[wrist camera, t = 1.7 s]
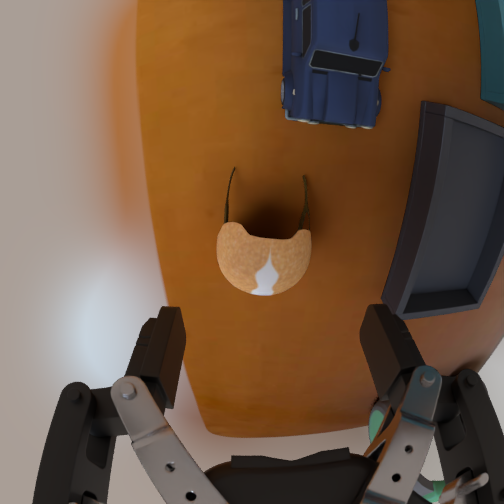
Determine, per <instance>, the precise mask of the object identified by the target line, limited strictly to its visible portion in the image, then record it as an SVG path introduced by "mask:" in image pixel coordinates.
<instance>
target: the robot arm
mask: <svg viewBox="0 0 504 504" xmlns="http://www.w3.org/2000/svg"><path fill="white" fill-rule="evenodd" d="M408 331H409V330H408V328H407V326H406V324H405V323H404V321H403V320H402V319H401V318H400V317H399V316H397V315H396V314H392V313H391V311H390V309H389V307H388V306H387V304H371V305H369V306H368V308H367V311H366V314H365V317H364V320H363V323H362V325H361V328H360V342H361V345H362V348H363V351H364V354H365V357H366V360H367V362H368V365H369V368H370V371H371V374H372V377H373V380H374V384H375V387H376V390H377V393H378V396H379V399H380V401H384V400H389V401H390V406H389V407H388V409H387V412H386V414H385V416H384V418H383V421H382V423H381V425H380V427H379V429H378V431H377V433H376V435H375V437H374V439H373V441H372V443H371V444H370V446H369V447H368V449H367V450H366V452H365V453H364V455H363V456H362V455H359V454H353V453H350V452H349V448H348V447H347V448H341V449H334V450H327V451H321V452H318V453H315V454H313V455H309V456H306V457H303V458H301V459H298V460H293V461H289V460H283V459H277V458H271V457H266V456H231V461H229V462H225V463H222V464H218V465H216V466H214V467H212V468H210V469H208V470H206V471H205V472H204V473H203V471H202V470H201V469H200V468H199V466H198V465H197V464H196V462H195V461H194V459H193V458H192V457H191V455H190V454H189V453H188V452H187V450H186V448H185V447H184V445H183V444H182V443H181V441H180V440H179V438H178V437H177V435H176V434H175V432H174V431H173V429H172V428H171V426H170V425H169V423H168V422H167V420H166V419H165V417H164V412H165V408H169V409H173V408H174V402H175V396H176V391H177V386H178V381H179V375H180V370H181V365H182V360H183V355H184V350H185V345H186V332H185V328H184V323H183V319H182V314H181V309H180V307H168V306H162V307H161V309H160V311H159V314H158V317H157V318H149V320H148V321H147V322H146V323H145V324H144V325H143V326H142V328H141V331H140V334H139V338H138V340H137V342H136V346H135V348H134V350H133V353H132V356H131V359H130V362H129V365H128V368H127V371H126V374H125V376H124V377H122V378H120V379H118V380H117V381H116V382H115V383H114V384H113V386H112V387H107V388H100V389H91V390H90V388H89V387H88V386H87V385H86V384H84V383H82V382H73V383H70V384H68V385H67V386H66V387H65V388H64V389H63V390H62V392H61V395H60V398H59V401H58V404H57V407H56V410H55V413H54V416H53V419H52V422H51V425H50V429H49V432H48V435H47V439H46V443H45V446H44V450H43V454H42V458H41V462H40V467H39V471H38V476H37V481H36V486H35V491H34V497H33V503H32V504H107V497H108V488H109V481H110V473H111V467H112V460H113V454H114V448H115V442H116V437H117V436H118V435H127V434H129V436H130V438H131V440H132V443H131V445H132V447H133V449H134V451H135V453H136V455H137V457H138V458H139V460H140V462H141V464H142V465H143V467H144V469H145V471H146V473H147V474H148V476H149V477H150V479H151V481H152V482H153V484H154V485H155V487H156V488H157V490H158V492H159V493H160V495H161V496H162V497H163V499H164V500H165V502H166V504H432V503H431V502H429V501H428V500H426V499H425V498H424V497H422V496H421V495H419V494H418V493H416V492H415V491H414V490H413V488H414V486H415V484H416V482H417V479H418V477H419V474H420V472H421V469H422V467H423V464H424V462H425V459H426V456H427V453H428V450H429V448H430V445H431V441H432V438H433V435H434V438H435V442H436V446H437V450H438V454H439V458H440V462H441V467H442V471H443V476H444V481H445V486H444V488H443V490H442V493H441V495H440V496H439V499H438V501H439V503H440V504H504V435H503V432H502V429H501V426H500V423H499V421H498V418H497V415H496V413H495V410H494V408H493V405H492V403H491V400H490V398H489V395H488V393H487V391H486V389H485V386H484V384H483V382H482V380H481V378H480V376H479V375H478V374H477V373H476V372H475V371H473V370H470V369H464V370H462V371H461V372H460V373H459V374H458V376H457V377H449V376H440V374H439V372H438V371H437V370H436V369H434V368H433V367H431V366H427V365H426V364H425V362H424V360H423V358H422V356H421V354H420V352H419V350H418V348H417V346H416V344H415V342H414V340H413V339H412V336H411V334H410V332H408ZM460 413H461V416H462V419H463V422H464V425H465V428H466V435H465V432H464V429H463V426H462V423H461V420H460V417H459V414H460Z"/></svg>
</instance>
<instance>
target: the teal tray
mask: <svg viewBox="0 0 504 504" xmlns="http://www.w3.org/2000/svg"><path fill="white" fill-rule="evenodd" d="M475 2H476V8H477V15H478V23H479V33H480V46H481V99H482V100H484V101H486V102H488V103H490V104H492V105H494V106H496V107H498V108H500V109H502V110H504V0H475Z"/></svg>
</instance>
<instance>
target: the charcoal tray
mask: <svg viewBox="0 0 504 504" xmlns="http://www.w3.org/2000/svg"><path fill="white" fill-rule="evenodd" d="M503 255H504V128H503V127H501V126H499V125H497V124H494V123H492V122H490V121H488V120H485V119H483V118H480V117H478V116H475V115H473V114H470V113H468V112H465V111H462V110H460V109H457V108H454V107H451V106H448V105H445V104H439V103H433V102H426V101H421V112H420V123H419V133H418V141H417V149H416V156H415V163H414V169H413V175H412V181H411V186H410V191H409V196H408V201H407V206H406V211H405V215H404V219H403V224H402V228H401V232H400V236H399V240H398V244H397V247H396V251H395V255H394V258H393V262H392V265H391V268H390V272H389V275H388V278H387V281H386V285H385V288H384V291H383V294H382V297H381V300H382V302H383V304H387V306H388V307H389V309H390V311H391V313H392V314H396V315H397V316H399V317H400V318H401V319H402V320H408V319H416V318H423V317H430V316H437V315H444V314H450V313H456V312H462V311H468V310H473V309H478V308H479V307H480V305H481V303H482V301H483V299H484V297H485V295H486V293H487V291H488V289H489V287H490V285H491V283H492V281H493V278H494V276H495V274H496V272H497V269H498V267H499V264H500V262H501V260H502V257H503Z"/></svg>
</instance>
